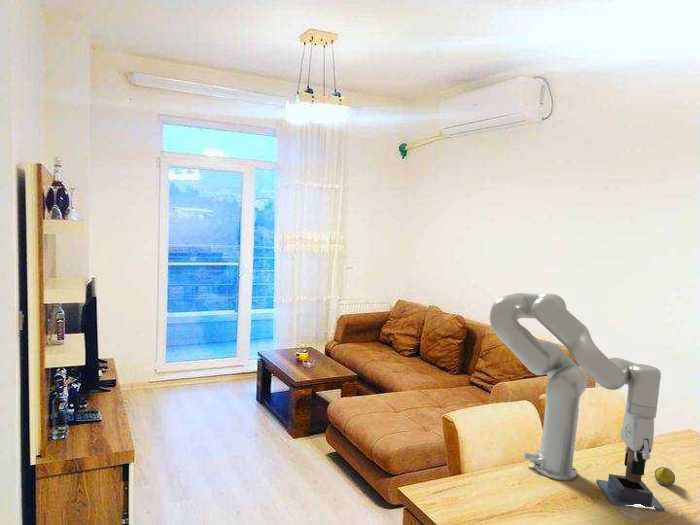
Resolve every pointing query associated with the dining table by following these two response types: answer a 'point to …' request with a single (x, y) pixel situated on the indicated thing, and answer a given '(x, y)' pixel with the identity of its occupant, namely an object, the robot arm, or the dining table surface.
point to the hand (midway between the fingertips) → (633, 469)
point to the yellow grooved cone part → (664, 476)
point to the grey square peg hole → (628, 492)
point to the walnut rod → (628, 474)
